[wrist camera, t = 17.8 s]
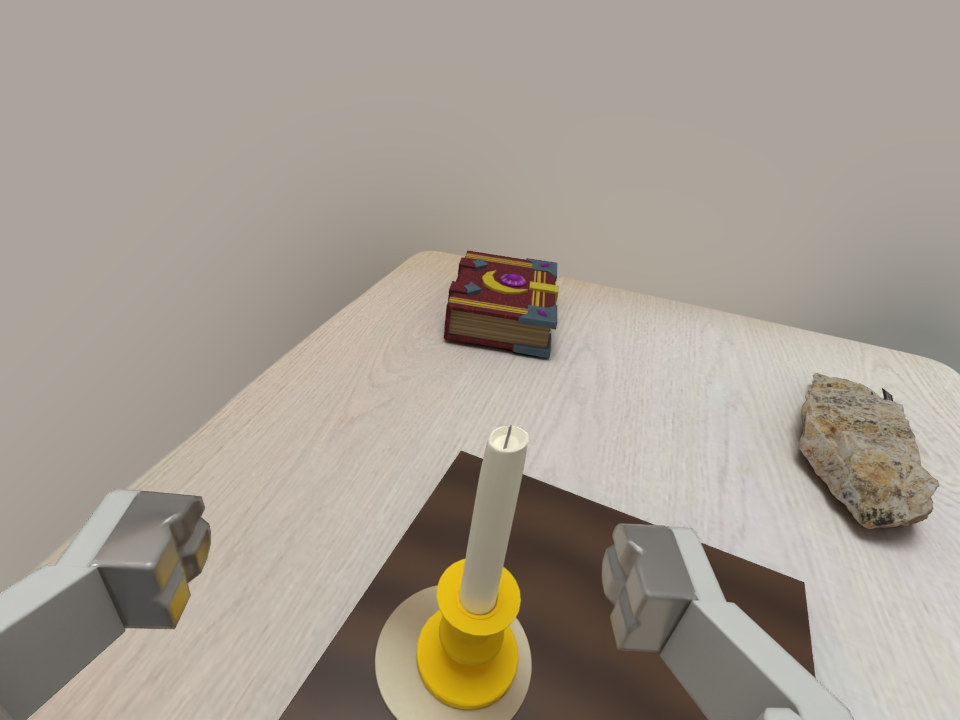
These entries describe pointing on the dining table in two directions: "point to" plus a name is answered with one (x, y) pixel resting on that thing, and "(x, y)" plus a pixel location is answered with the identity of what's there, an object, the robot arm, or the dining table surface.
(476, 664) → the candle
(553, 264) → the decorative book
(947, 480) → the dining table surface
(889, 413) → the stone
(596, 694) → the board
